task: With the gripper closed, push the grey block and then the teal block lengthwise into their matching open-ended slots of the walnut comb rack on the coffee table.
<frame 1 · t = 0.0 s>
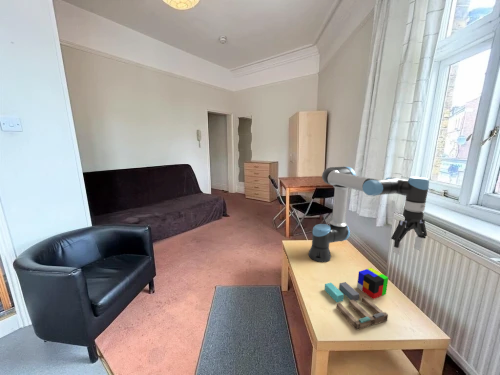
hand: (406, 251, 102), 28 cm above the table, fingers open, 13 cm apart
teal block: (333, 295, 112), on the table
grey block: (348, 295, 112), on the table
comb rack: (360, 314, 99), on the table
puzzle toy: (371, 290, 115), on the table
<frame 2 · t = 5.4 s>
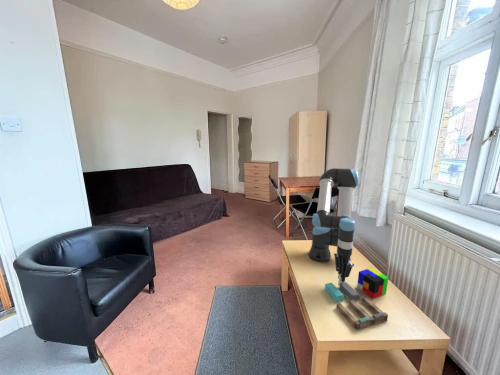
hand: (340, 285, 117), 2 cm above the table, fingers closed
grey block: (348, 295, 112), on the table, touching gripper
everything else where it was.
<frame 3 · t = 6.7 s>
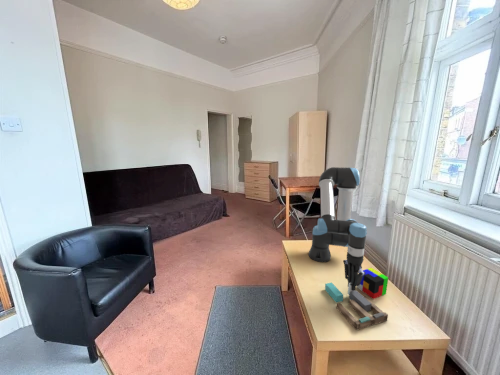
hand: (350, 294, 110), 2 cm above the table, fingers closed
grey block: (359, 304, 105), on the table, touching gripper
everything else where it was.
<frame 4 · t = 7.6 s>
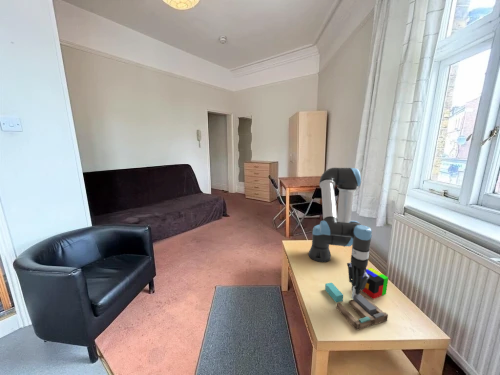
hand: (354, 297, 108), 1 cm above the table, fingers closed
grey block: (363, 308, 103), on the table, touching gripper
everything else where it was.
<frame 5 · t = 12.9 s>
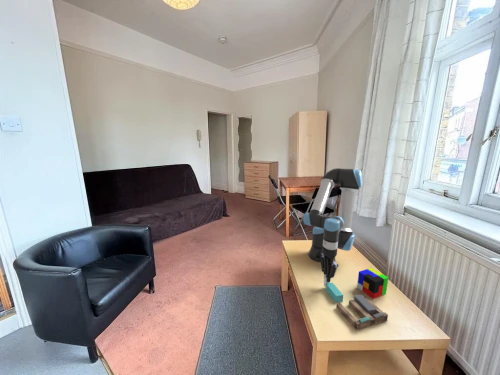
hand: (326, 285, 117), 2 cm above the table, fingers closed
teal block: (333, 295, 111), on the table, touching gripper
grey block: (363, 309, 102), on the table
everything else where it was.
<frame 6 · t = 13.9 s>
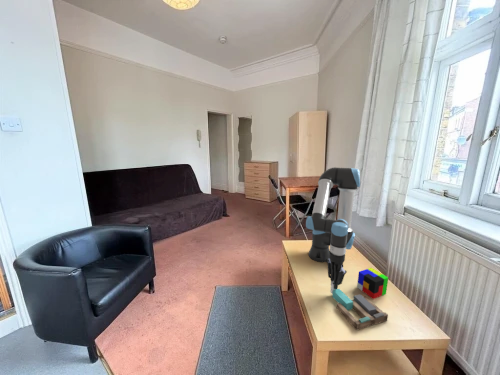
hand: (333, 292, 111), 2 cm above the table, fingers closed
teal block: (342, 302, 106), on the table, touching gripper
everything else where it was.
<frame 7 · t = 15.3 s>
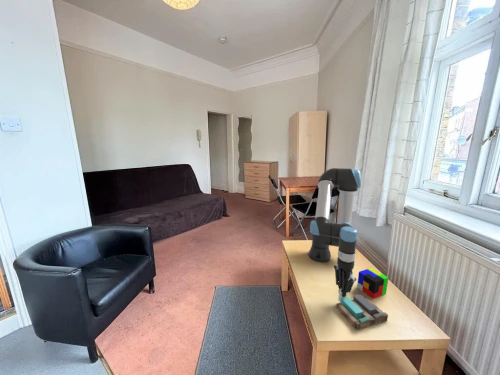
hand: (341, 300, 106), 1 cm above the table, fingers closed
teal block: (350, 311, 101), on the table, touching gripper
everything else where it was.
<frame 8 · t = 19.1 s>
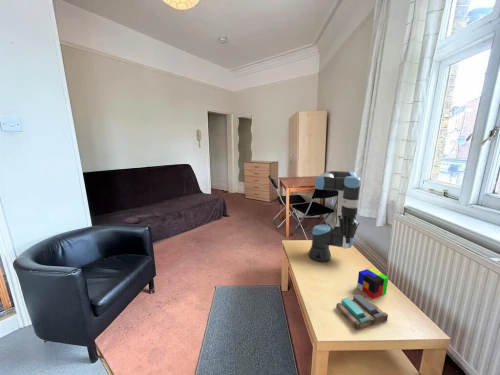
hand: (345, 247, 113), 24 cm above the table, fingers closed
teal block: (351, 312, 100), on the table
everything else where it was.
at the end: grey block 1.1 cm from the target spot, on the table; teal block 1.1 cm from the target spot, on the table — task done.
